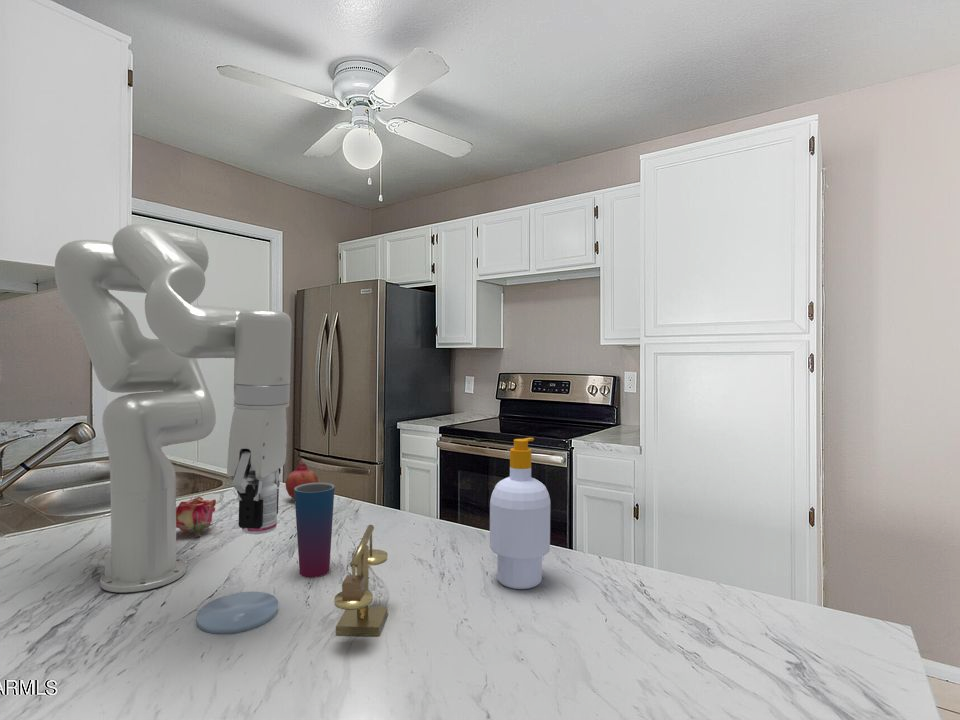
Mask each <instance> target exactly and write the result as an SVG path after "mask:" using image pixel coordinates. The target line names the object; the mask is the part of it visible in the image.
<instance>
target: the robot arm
mask: <svg viewBox="0 0 960 720" xmlns="http://www.w3.org/2000/svg"><path fill="white" fill-rule="evenodd" d="M54 260H55V261H54V279H55V284H56V286H57V290H58V293H59V296H60V298H61V300H62V302H63V303H64V305H65V307H66V308H67V310H68V312H69V313H70V315H72V317H73V318H74V321H75V322H76V324H77V326H78V329H79V330H80V332H81V334H82V339H83V342H84V344H85V347H86V350H87V352H88V353H87V354H88V356H89V358H90V361H91V364H92V367H93V370H94V373H95V375H96V378H97V380H98V382H99V383H100V385H101V387H102V388H103V389H104V390H106V391H109V392H112V393H118V394H119V393H121V394H122V393H126V394H124V395H121V396H118V397H117V398H115V399H113V400H112V401H110V402H109V403H108V405H106V407H104V408H105V409H104V411H103V413H102V428H103V430H102V431H103V434H104V439H105V442H106V447H107V453H108V463H109V475H110V477H109V483H110V551H109V550H108V551H105V550H98V551H96V552H95V553H94V555H93V559H91V561H90V567H91V568H103V569H104V573H103V574H102V576H101V577H100V579H99V585H100V587H101V589H103V590H104V591H107V592H110V593H112V592H113V593H135V592H142V591H148V590H152V589H156V588H159V587H163V586H166V585H168V584H171V583H173V582H175V581H177V580H179V579H180V578H182V577H183V576H184V575H185V573H186V572H187V563H186V561H185V560H183V559H182V558H178V557H177V528H176V507H177V490H176V489H177V486H176V485H177V484H176V483H177V481H176V478H177V476H176V470H175V467H174V465H173V463H172V462H171V460H170V459H169V458H168V457H167V455H165V453H164V452H163V450H162V448H163V447H168V446H171V445H176V444H184V443H185V444H186V443H190V442H191V443H192V442H196V441H201V440H203V439H205V438H207V437H209V435H210V434H211V433H212V432H213V431H214V429H215V425H216V421H217V419H216V418H217V414H216V413H217V412H216V407H215V404H214V401H213V398H212V396H211V393H210V391H209V388H208V385H207V382H206V380H205V378H204V376H203V373H202V369H201V368H200V365H199V362H198V360H197V359H234V360H233V361H234V362H233V364H234V365H233V367H234V369H233V372H234V373H233V376H234V377H233V405H232V407H233V413H232V418H231V423H230V429H229V430H230V431H229V438H228V439H229V440H228V449H227V463H226V464H227V466H226V474H227V477H228V478H229V479H230V480H231V479H232V480H233V481H232V487H233V488H234V490H235V491H236V493H237V501H238V527H239V528H241V529H242V528H254V529H259V528H261V527H262V525H263V500H262V499H260V498H261V490H262V483H263V478H265V477H266V476H268V475H270V474H271V473H273V472H274V471H275V481H274V482H273V483H275V484H276V485H277V515H278V514H279V495H280V492H279V491H280V489H279V488H280V485H281V482H280V481H281V480H280V474H281V471H282V469H281V468H282V467H283V466H284V465H285V463H286V460H287V445H288V444H287V443H288V439H287V436H288V432H287V427H288V426H287V425H288V424H287V410H286V408H288V407H290V397H291V396H290V394H291V361H292V359H291V358H292V355H291V354H292V329H293V328H292V318H291V317H290V315H289V314H288V313H286V312H284V311H279V310H269V309H268V310H267V309H244V308H234V307H232V308H231V307H226V306H225V307H223V306H212V305H211V306H209V305H195V304H192V303H193V302H195V301H196V300H197V299H198V298H200V296H201V295H202V294H203V292H204V289H205V286H206V276H205V275H206V274H205V273H206V270H207V268H208V266H209V252H208V249H207V246H206V245H205V242H203V240H202V239H201V238H199V236H197V235H195V234H193V233H190V232H187V231H183V230H177V229H173V228H167V227H162V226H159V225H151V224H146V223H145V224H143V223H135V224H129V225H125V226H124V227H122V228H120V229H118V231H117V232H116V233H115V234H114V235H113V238H112V242H111V241H104V240H95V239H79V240H73V241H68V242H67V243H65V244H63V245H62V246H61V247H60V248H59V249H58V251H57V254H56V256H55V259H54ZM110 291H118V292H129V293H131V292H132V293H141V294H146V295H145V298H144V314H145V318H146V322H147V325H148V327H149V329H150V330H151V332H152V333H153V334H154V336H156V337H157V338H148V337H146V336H144V335H143V333H142V331H141V329H140V327H139V324H138V322H137V319H136V317H135V315H134V314H133V312H132V311H131V310H130V309H129V308H128V307H127V306H126V305H125V303H123V302H122V301H121V300H119V298H117V297H116V296H114V295H113V294H112V293H111V292H110ZM127 393H128V394H127ZM249 473H255V475H254V477H256V478H253V477H248V474H249ZM248 482H255V490H254V488H253V486H252V485H249V484H248Z"/></svg>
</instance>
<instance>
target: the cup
mask: <svg viewBox="0 0 960 720" xmlns="http://www.w3.org/2000/svg"><path fill="white" fill-rule="evenodd" d="M335 487H336V486H335V484H332V483H329V482H318V483H307V484H302V485H299V486H297V487H295V488H294V494H295V499H294V504H295V505H294V506H295V508H294V509H295V522H296V536H297V537H296V539H297V549H298V550H297V553H298V567H299V569H298V570H299V575H300V576H301V577H304V578H310V579H311V578H319V577H324V576H325V575H327V574H328V573H329V572H330V567H331V565H330V564H331V550H332V535H333V534H332V533H333V532H332V531H333V520H334V519H333V516H334V515H333V514H334V503H335V502H334V501H335Z"/></svg>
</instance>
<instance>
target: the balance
mask: <svg viewBox="0 0 960 720" xmlns="http://www.w3.org/2000/svg"><path fill="white" fill-rule="evenodd" d="M374 530H375V526H374V525H373V524H369V525H367V527H366V529H365V532H364V534H363V536H362V538H361V540H360V542H359V545H358V546H357V547H356V551H355V553H354V554H353V557H352V559H351V561H350V563H349V565H350V567H351V574H349V575H346V576H345V578H344V579H343V580H342V582H341V583H342V585H341V589H342V590H341V591H339V593H336V595H334V601H333V603H334V606H335V607H336V608H338V609H341V610H344V611H343V614H342V615H341V616H340V618H339V620H338V622H337V623H336V625H335V635H336V636H362V637H364V636H365V637H366V636H367V637H379V636H380V635H381V632H382V629H383V627H384V625H385V623H386V620H387V617H388V615H389V609H388V608H389V607H388V606H370V605H371V604H372V602H373V600H374V599H373V593H372V591H370V590H369V588H370V587H369V574H370V573H369V567H372V566H379V565H381V564H384V563H385V562H387V560H388V552H387V551H385V550H383V549H375V548H374V549H373V533H374ZM368 544H369V545H368Z"/></svg>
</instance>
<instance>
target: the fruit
mask: <svg viewBox="0 0 960 720" xmlns="http://www.w3.org/2000/svg"><path fill="white" fill-rule="evenodd" d="M318 478H319V477H318V475H317V474H316V473H315V471H314V470H311V469H309V468H308V466H307V464H306V463H305V462H304V461H300V462H299V463H298V465H297V467H296V469H295V470H293V471H292V472H291V473H289V474H288V475H287V477H286V480H285V489H286V492H287V494H288V496H290V497H291V498H292V499H293V500H295V494H294V488H295V487H297V486H299V485H302V484H307V483H319V479H318Z"/></svg>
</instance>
